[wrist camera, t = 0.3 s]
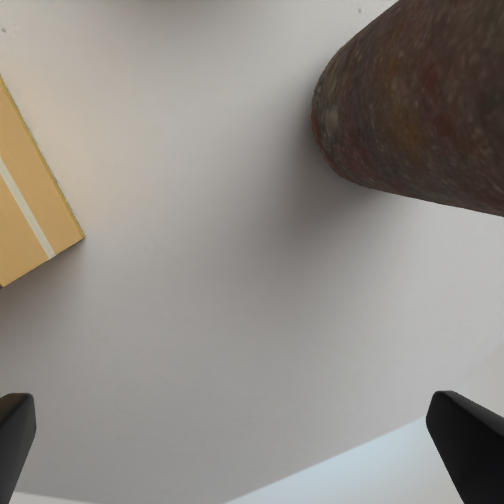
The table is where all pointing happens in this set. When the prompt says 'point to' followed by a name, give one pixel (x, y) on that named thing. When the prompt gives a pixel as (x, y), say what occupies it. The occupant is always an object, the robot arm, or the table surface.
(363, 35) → the candle
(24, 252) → the cake slice
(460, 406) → the robot arm
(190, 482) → the table surface
